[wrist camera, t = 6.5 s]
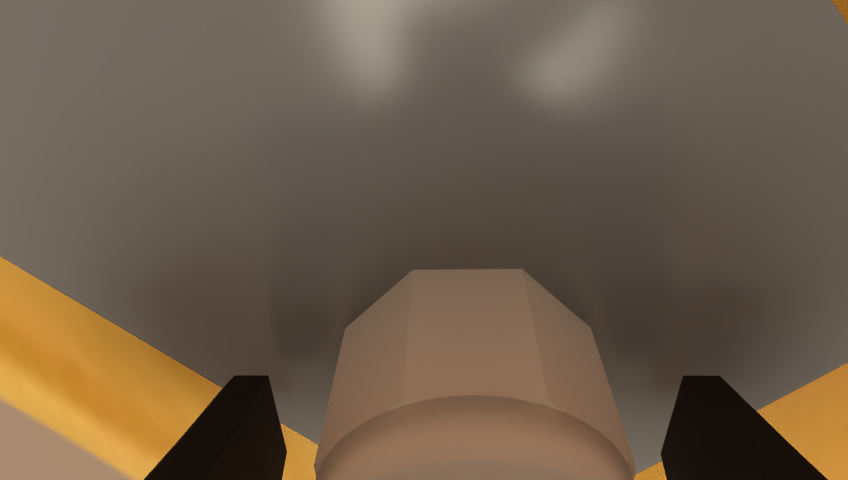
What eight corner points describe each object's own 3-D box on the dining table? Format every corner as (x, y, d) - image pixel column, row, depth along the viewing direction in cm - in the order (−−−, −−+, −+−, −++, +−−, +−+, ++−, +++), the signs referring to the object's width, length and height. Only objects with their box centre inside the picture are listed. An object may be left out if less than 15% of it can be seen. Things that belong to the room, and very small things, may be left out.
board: (966, 243, 11) (1170, 385, 8) (491, 512, 15) (502, 662, 12) (330, -692, 5) (190, -1389, 2) (-83, 154, 10) (-298, 264, 7)
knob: (641, 365, 11) (739, 602, 7) (465, 474, 13) (473, 704, 9) (467, 214, 9) (481, 424, 6) (295, 365, 11) (224, 593, 8)
